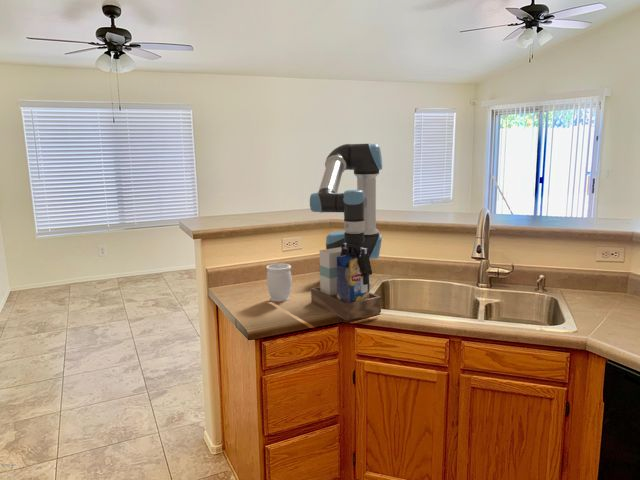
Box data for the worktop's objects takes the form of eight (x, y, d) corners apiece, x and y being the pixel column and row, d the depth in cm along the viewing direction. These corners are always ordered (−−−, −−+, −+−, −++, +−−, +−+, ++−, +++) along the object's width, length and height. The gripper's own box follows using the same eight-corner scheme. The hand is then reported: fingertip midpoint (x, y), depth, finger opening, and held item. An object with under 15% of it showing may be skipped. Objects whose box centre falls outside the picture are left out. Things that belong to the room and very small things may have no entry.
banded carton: (342, 298, 195) (342, 246, 190) (352, 302, 189) (352, 249, 185) (320, 303, 189) (319, 250, 185) (329, 307, 183) (329, 253, 179)
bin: (343, 297, 199) (343, 281, 197) (380, 314, 178) (381, 296, 176) (311, 304, 190) (311, 288, 189) (346, 323, 169) (346, 304, 168)
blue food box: (369, 309, 180) (369, 254, 176) (350, 317, 172) (350, 259, 168) (355, 305, 185) (355, 252, 181) (337, 313, 177) (336, 256, 173)
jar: (288, 305, 190) (287, 269, 188) (264, 303, 192) (262, 268, 190) (294, 297, 201) (294, 263, 198) (272, 296, 203) (270, 262, 200)
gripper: (328, 229, 180) (330, 284, 184) (365, 237, 161) (366, 298, 165) (344, 227, 184) (345, 280, 188) (382, 234, 165) (382, 294, 169)
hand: (355, 289), depth 177 cm, fingers open, 10 cm apart
